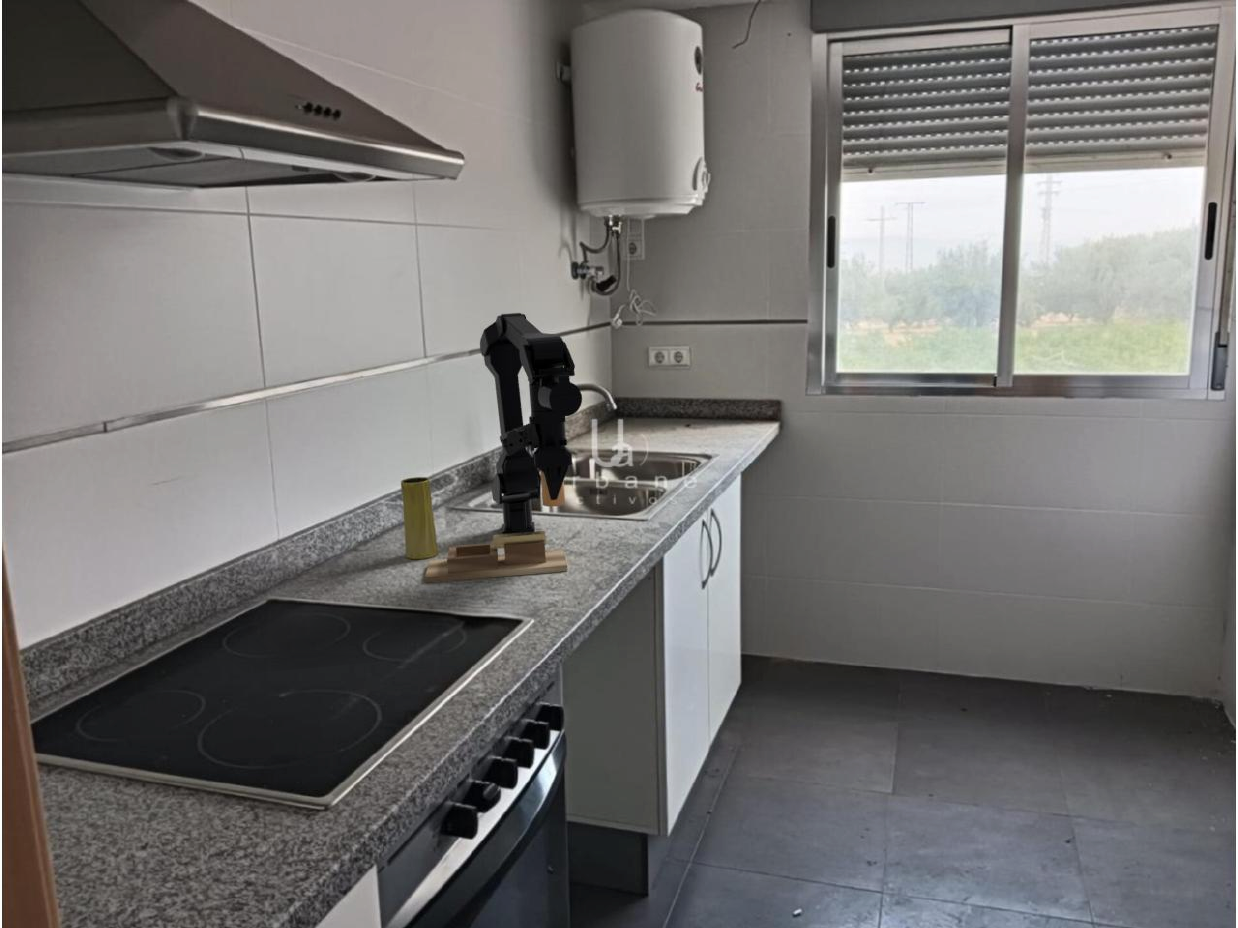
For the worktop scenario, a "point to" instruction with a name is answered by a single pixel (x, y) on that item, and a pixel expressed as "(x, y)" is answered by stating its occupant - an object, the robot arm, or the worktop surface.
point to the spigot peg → (546, 496)
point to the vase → (418, 518)
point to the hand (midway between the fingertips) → (553, 496)
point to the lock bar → (518, 538)
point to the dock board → (495, 562)
